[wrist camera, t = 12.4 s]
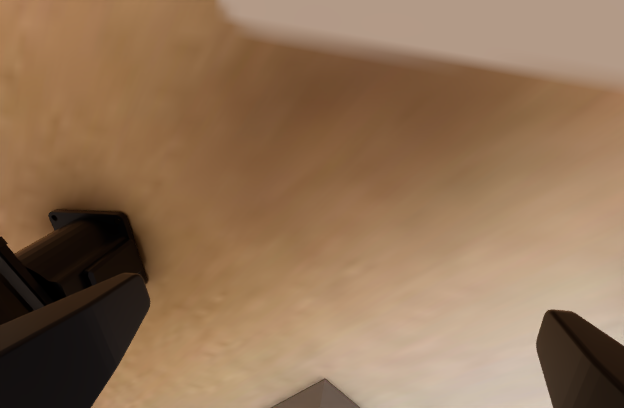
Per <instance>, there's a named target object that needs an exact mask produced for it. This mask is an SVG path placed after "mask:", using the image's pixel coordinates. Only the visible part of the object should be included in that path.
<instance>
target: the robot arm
mask: <svg viewBox="0 0 624 408" xmlns="http://www.w3.org/2000/svg"><path fill="white" fill-rule="evenodd" d="M48 216H49V219H50V221H51V223H52V226H53V228H54V230H55V231H54V232H52V233H50V234H48V235H47V236H45V237H43V238H41V239H39V240H38V241H36V242H34V243H32V244H31V245H29V246H27V247H25V248H24V249H22V250H20V251H18V252H17V253H15V254H14V253H13V252H12V251H11V250H10V249H9V247H8V246H7V245H6V244H8V243H7V242H6V241H5V240H4V239H3V238H2V236H1V237H0V408H91V406H92V405H93V403H94V402H95V400H96V399H97V397H98V396H99V394H100V393H101V391H102V390H103V388H104V387H105V385H106V384H107V382H108V381H109V379H110V378H111V376H112V375H113V373H114V371H115V370H116V368H117V367H118V365H119V363H120V361H121V360H122V358H123V356H124V354H125V352H126V351H127V349H128V347H129V345H130V343H131V341H132V339H133V338H134V336H135V334H136V332H137V330H138V328H139V327H140V325H141V323H142V321H143V319H144V317H145V316H146V314H147V312H148V310H149V307H150V297H149V294H148V291H147V288H146V284H147V278H146V275H145V272H144V269H143V265H142V262H141V259H140V256H139V253H138V250H137V247H136V244H135V241H134V238H133V234H132V231H131V228H130V225H129V222H128V219H127V217H126V216H125V215H124V214H123V213H120V212H102V211H78V210H54V211H52V212H50V213H49V215H48ZM119 219H120V220H119ZM536 348H537V353H538V357H539V360H540V364H541V367H542V371H543V374H544V378H545V381H546V385H547V388H548V391H549V395H550V398H551V402H552V405H553V408H624V346H623V345H622V344H620V343H619V342H617V341H616V340H614V339H613V338H611V337H610V336H608V335H607V334H605V333H604V332H602V331H601V330H599V329H598V328H597V327H595V326H594V325H592V324H591V323H589V322H588V321H586V320H585V319H583V318H582V317H580V316H579V315H577V314H576V313H574V312H571V311H564V310H548V311H547V312H546V313H545V315H544V317H543V321H542V324H541V327H540V330H539V334H538V337H537V341H536Z"/></svg>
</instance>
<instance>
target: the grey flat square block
mask: <svg viewBox="0 0 624 408" xmlns="http://www.w3.org/2000/svg"><path fill="white" fill-rule="evenodd" d="M272 408H359V407H358V406H357V405H356V404H354V403H353V402H352V401H351V400H350V399H349V398H347V397H346V396H345V395H344V394H343V393H341V392H340V391H339V390H338V389H337V388H335V387H334V386H333V385H332V384H331V383H329V382H328V381H327V380H326V379H324V380H322V381H320V382H318V383H317V384H315V385H313V386H311V387H309V388H307V389H306V390H304V391H302V392H300V393H298V394H296V395H294V396H293V397H291V398H289V399H287V400H285V401H283V402H282V403H280V404H278V405H276V406H274V407H272Z"/></svg>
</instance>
